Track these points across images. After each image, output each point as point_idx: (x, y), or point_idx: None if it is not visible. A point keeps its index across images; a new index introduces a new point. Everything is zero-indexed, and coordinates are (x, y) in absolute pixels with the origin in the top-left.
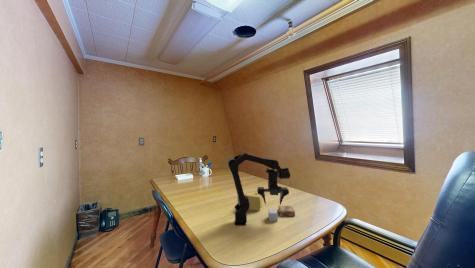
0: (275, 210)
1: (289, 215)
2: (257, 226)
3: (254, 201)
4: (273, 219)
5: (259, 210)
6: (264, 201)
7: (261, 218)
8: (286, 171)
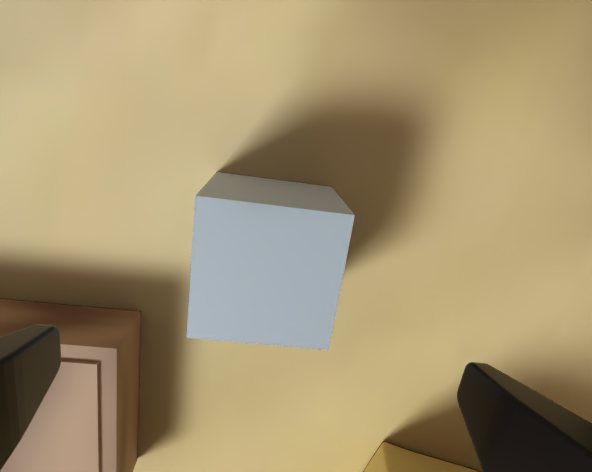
0: (209, 313)
1: (8, 303)
2: (537, 52)
3: None
4: (274, 184)
5: (384, 446)
6: (571, 414)
7: (413, 265)
8: None
